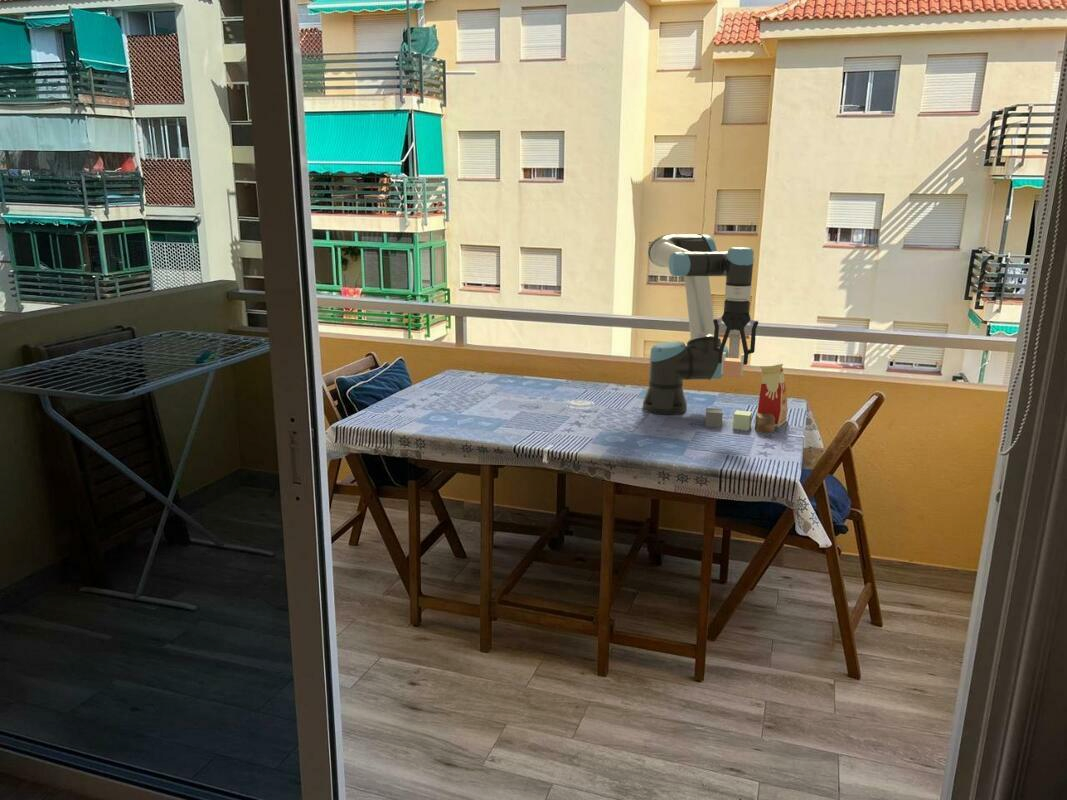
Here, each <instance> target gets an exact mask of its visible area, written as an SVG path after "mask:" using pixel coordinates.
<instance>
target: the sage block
mask: <svg viewBox="0 0 1067 800" xmlns="http://www.w3.org/2000/svg"><path fill="white" fill-rule="evenodd" d="M752 414H753V411H749V410H747V411H746V410H738V409H736V410H735V412H733V422H732V430H733V429H734V430H739V429H740V430H741V431H747V430H749V431H750V429H751V427H752V419H753V418H752V417H753V416H752ZM740 430H739V431H740Z"/></svg>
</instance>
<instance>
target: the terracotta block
mask: <svg viewBox="0 0 1067 800" xmlns="http://www.w3.org/2000/svg"><path fill="white" fill-rule="evenodd" d="M740 369H741V358H737V357H736V358H734V357H729V358H725V360H724V369H723V377H724V378H736V379H737V378H738V379H740V377H741V376H740ZM723 377H722V378H723Z"/></svg>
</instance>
